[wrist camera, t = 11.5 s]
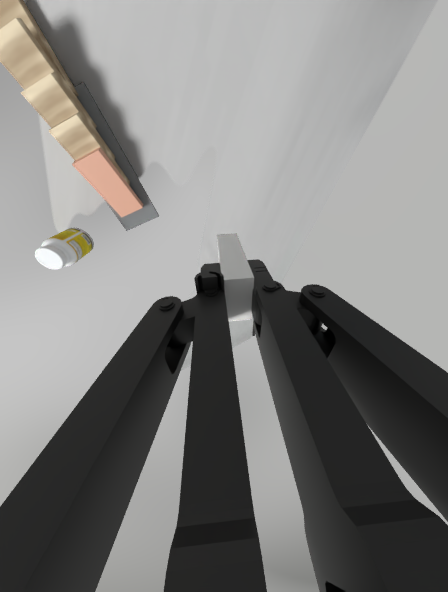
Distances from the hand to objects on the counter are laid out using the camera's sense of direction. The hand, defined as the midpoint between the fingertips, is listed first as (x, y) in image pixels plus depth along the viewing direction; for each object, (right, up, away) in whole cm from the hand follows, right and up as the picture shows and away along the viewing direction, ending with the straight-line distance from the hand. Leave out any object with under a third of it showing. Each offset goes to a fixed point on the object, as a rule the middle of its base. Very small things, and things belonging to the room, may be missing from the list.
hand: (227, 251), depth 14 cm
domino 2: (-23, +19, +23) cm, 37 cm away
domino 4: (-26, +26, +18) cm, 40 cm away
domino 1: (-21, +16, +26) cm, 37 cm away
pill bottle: (-36, +10, +30) cm, 48 cm away
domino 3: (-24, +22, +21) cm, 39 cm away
